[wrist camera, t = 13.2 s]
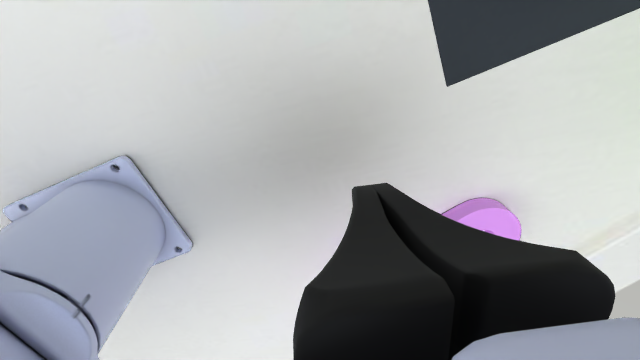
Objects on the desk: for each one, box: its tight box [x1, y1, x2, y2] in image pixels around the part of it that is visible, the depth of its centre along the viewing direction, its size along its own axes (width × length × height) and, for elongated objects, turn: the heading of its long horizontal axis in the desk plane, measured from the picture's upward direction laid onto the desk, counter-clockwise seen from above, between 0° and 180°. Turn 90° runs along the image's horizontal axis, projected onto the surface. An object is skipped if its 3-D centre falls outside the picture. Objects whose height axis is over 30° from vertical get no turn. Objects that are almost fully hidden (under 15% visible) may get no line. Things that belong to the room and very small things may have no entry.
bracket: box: [441, 198, 521, 241], centre depth 22 cm, size 13×6×7 cm, turn 124°
